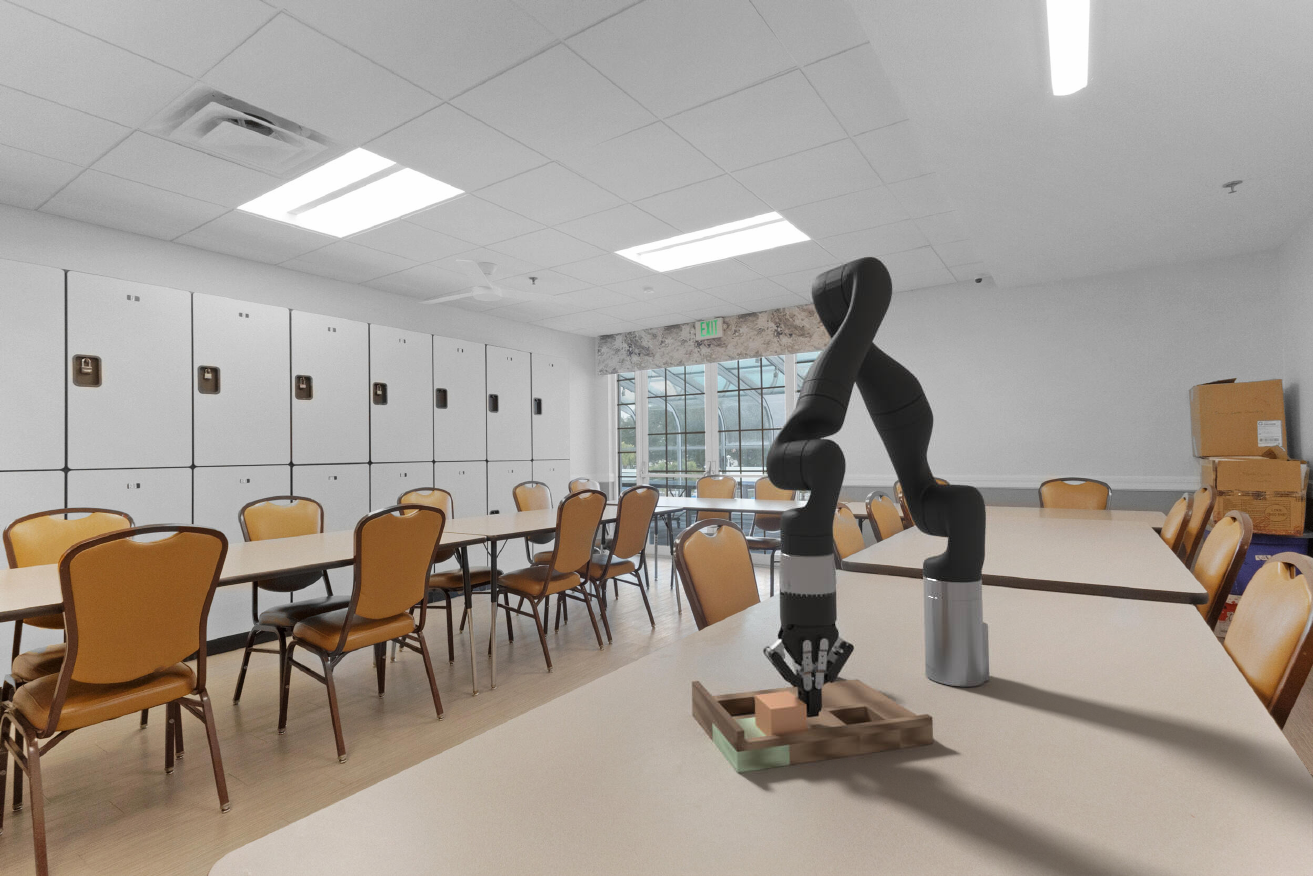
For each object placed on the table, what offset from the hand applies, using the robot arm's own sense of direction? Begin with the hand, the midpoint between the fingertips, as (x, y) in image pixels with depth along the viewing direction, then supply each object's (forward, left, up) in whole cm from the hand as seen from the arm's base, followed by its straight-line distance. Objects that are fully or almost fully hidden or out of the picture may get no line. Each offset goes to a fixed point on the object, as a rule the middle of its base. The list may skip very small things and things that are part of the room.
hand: (809, 714), depth 86 cm
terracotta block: (+5, +1, -1) cm, 5 cm away
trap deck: (-2, -4, -4) cm, 6 cm away
